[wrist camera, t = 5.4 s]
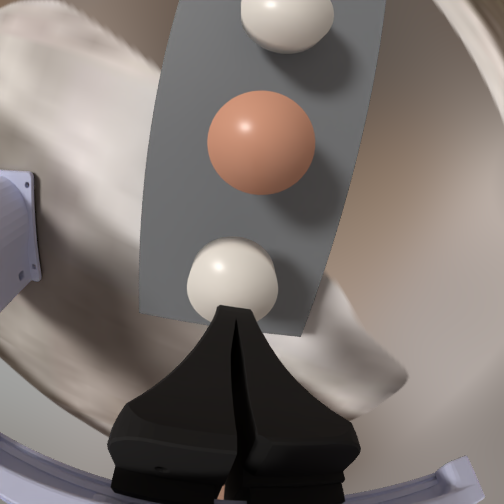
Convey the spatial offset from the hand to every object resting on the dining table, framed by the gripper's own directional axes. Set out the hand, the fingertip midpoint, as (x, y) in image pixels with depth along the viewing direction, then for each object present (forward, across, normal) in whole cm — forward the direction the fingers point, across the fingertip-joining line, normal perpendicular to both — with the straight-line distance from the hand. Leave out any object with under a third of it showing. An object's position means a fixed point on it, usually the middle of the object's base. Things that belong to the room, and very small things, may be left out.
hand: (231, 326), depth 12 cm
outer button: (+7, 0, -14) cm, 16 cm away
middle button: (+5, 0, -7) cm, 9 cm away
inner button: (+5, 0, 0) cm, 5 cm away
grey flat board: (+9, 0, -7) cm, 12 cm away
